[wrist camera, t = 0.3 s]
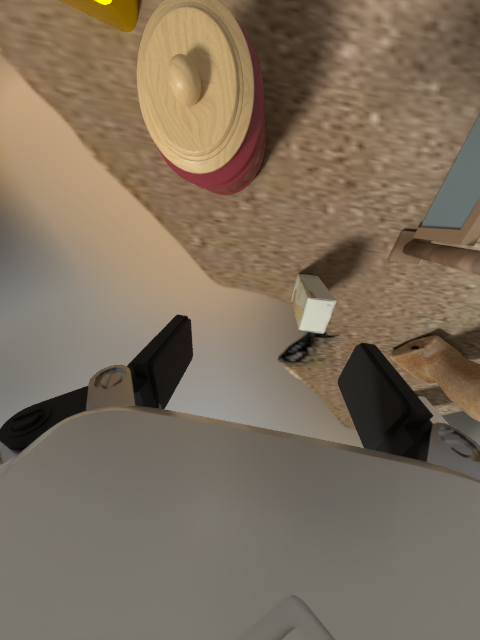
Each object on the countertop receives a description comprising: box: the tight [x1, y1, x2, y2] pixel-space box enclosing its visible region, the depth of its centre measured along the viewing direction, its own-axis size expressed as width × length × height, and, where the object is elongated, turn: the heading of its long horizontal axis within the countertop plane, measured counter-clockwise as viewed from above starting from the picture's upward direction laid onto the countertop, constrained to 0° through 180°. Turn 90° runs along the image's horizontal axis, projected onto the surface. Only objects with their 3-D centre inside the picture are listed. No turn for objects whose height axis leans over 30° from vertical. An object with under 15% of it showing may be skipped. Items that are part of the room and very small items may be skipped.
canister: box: [137, 0, 266, 195], centre depth 21 cm, size 13×13×18 cm
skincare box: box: [292, 274, 336, 334], centre depth 33 cm, size 6×4×12 cm
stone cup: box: [390, 336, 480, 422], centre depth 35 cm, size 15×12×15 cm
